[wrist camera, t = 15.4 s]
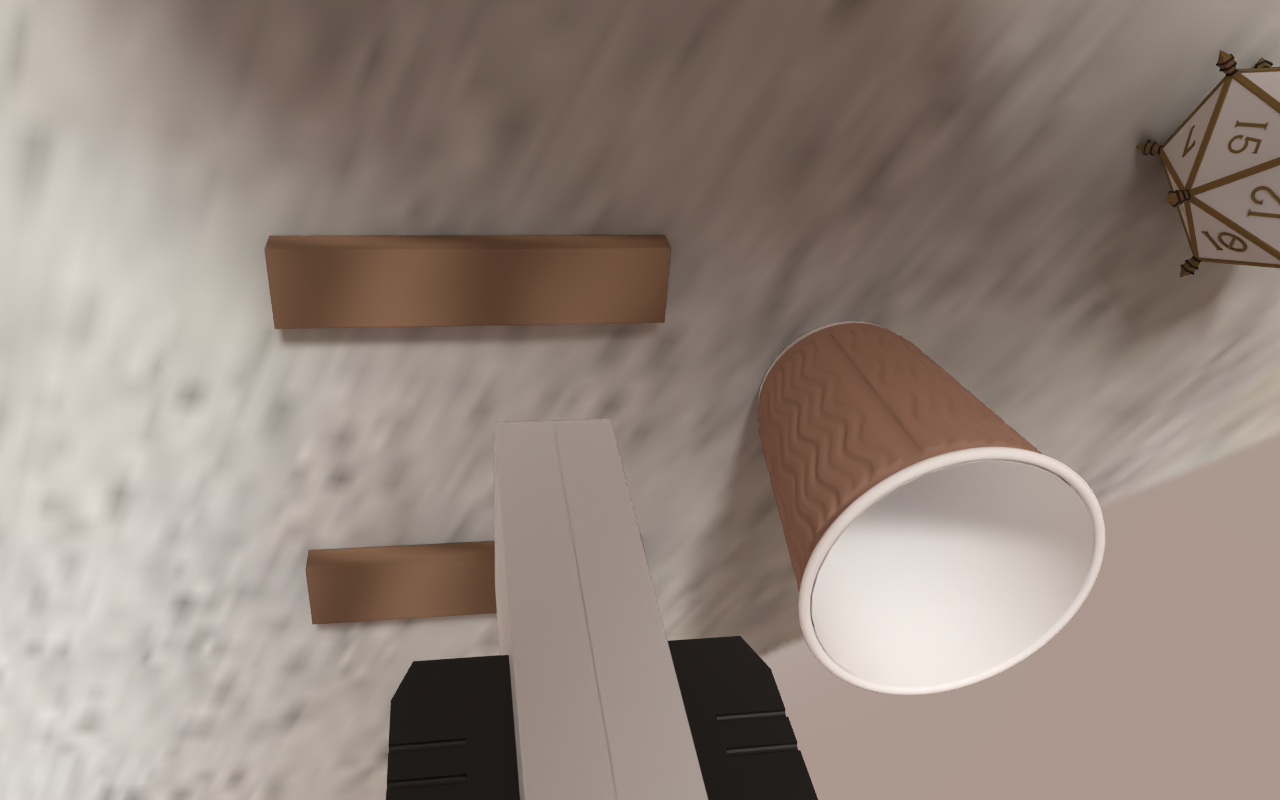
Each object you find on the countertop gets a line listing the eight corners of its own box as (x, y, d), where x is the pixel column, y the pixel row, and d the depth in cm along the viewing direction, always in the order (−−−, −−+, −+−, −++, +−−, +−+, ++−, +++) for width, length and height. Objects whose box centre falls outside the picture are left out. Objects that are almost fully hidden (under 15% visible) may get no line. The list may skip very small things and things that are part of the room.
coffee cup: (757, 525, 47) (844, 736, 37) (682, 342, 41) (760, 532, 31) (974, 438, 46) (1123, 628, 36) (927, 240, 41) (1087, 401, 31)
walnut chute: (315, 604, 45) (312, 624, 44) (269, 236, 36) (264, 249, 35) (635, 585, 48) (640, 603, 47) (664, 235, 39) (671, 248, 38)
